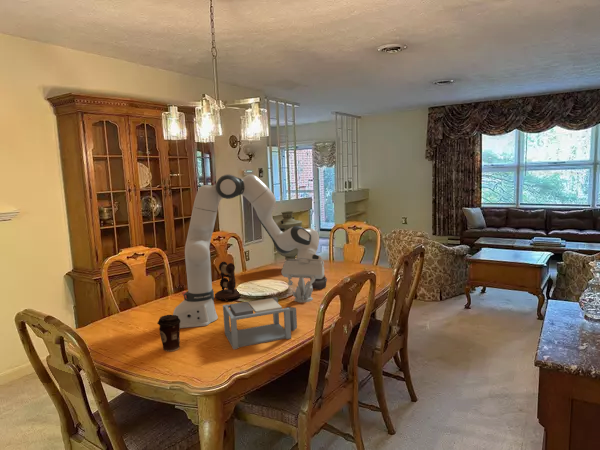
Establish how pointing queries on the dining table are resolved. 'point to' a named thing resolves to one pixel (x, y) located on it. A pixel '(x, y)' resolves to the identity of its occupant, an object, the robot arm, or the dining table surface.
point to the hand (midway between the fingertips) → (299, 285)
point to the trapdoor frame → (256, 328)
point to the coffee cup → (170, 332)
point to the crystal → (303, 292)
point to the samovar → (284, 226)
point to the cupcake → (319, 283)
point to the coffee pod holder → (227, 282)
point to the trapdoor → (254, 307)
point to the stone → (293, 318)
